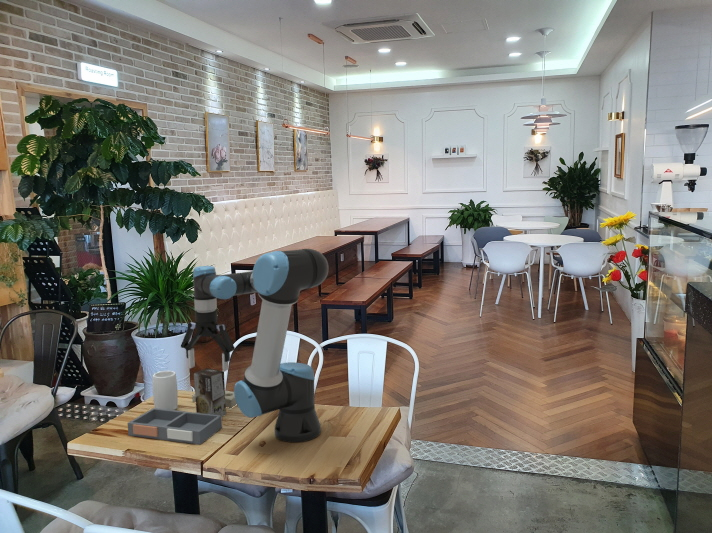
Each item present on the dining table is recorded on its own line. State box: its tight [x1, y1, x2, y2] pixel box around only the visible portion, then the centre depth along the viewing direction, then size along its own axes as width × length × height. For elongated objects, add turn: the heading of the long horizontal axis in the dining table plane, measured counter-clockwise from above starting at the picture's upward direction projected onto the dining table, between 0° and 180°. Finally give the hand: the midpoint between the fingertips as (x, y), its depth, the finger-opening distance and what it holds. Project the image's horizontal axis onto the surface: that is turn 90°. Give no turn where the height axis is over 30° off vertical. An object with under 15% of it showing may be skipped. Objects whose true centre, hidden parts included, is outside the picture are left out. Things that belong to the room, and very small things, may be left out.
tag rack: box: [127, 407, 223, 445], centre depth 188 cm, size 27×14×4 cm, turn 73°
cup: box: [152, 370, 179, 410], centre depth 205 cm, size 8×8×14 cm
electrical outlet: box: [192, 390, 237, 409], centre depth 214 cm, size 7×4×18 cm
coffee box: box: [193, 367, 227, 417], centre depth 201 cm, size 9×6×16 cm
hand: (208, 368), depth 200 cm, fingers open, 13 cm apart
